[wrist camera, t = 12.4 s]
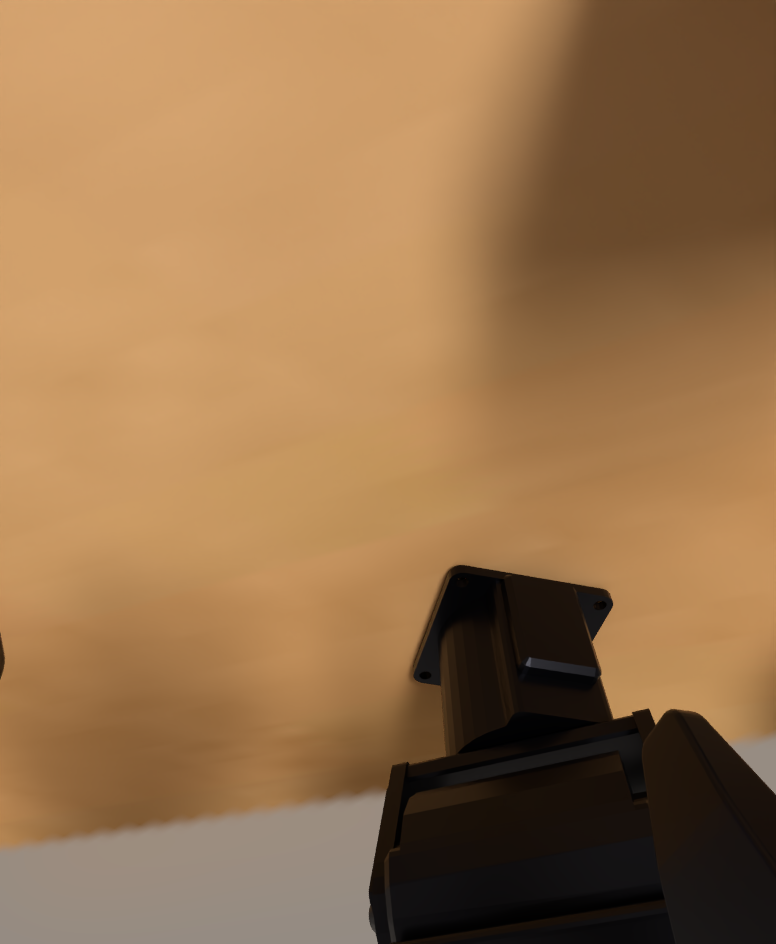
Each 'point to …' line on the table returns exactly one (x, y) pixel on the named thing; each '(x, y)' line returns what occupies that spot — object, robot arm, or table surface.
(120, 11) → the table surface
